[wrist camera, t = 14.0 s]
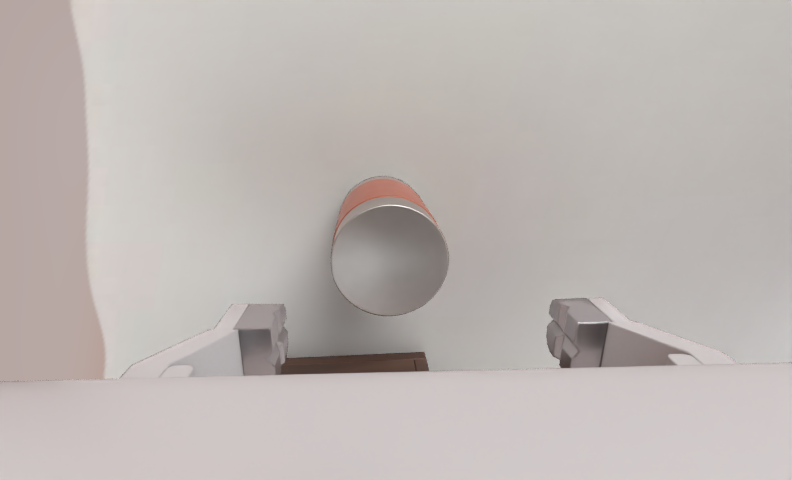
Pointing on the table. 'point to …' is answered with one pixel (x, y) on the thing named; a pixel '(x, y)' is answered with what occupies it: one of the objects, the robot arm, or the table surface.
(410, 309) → the can
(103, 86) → the table surface
